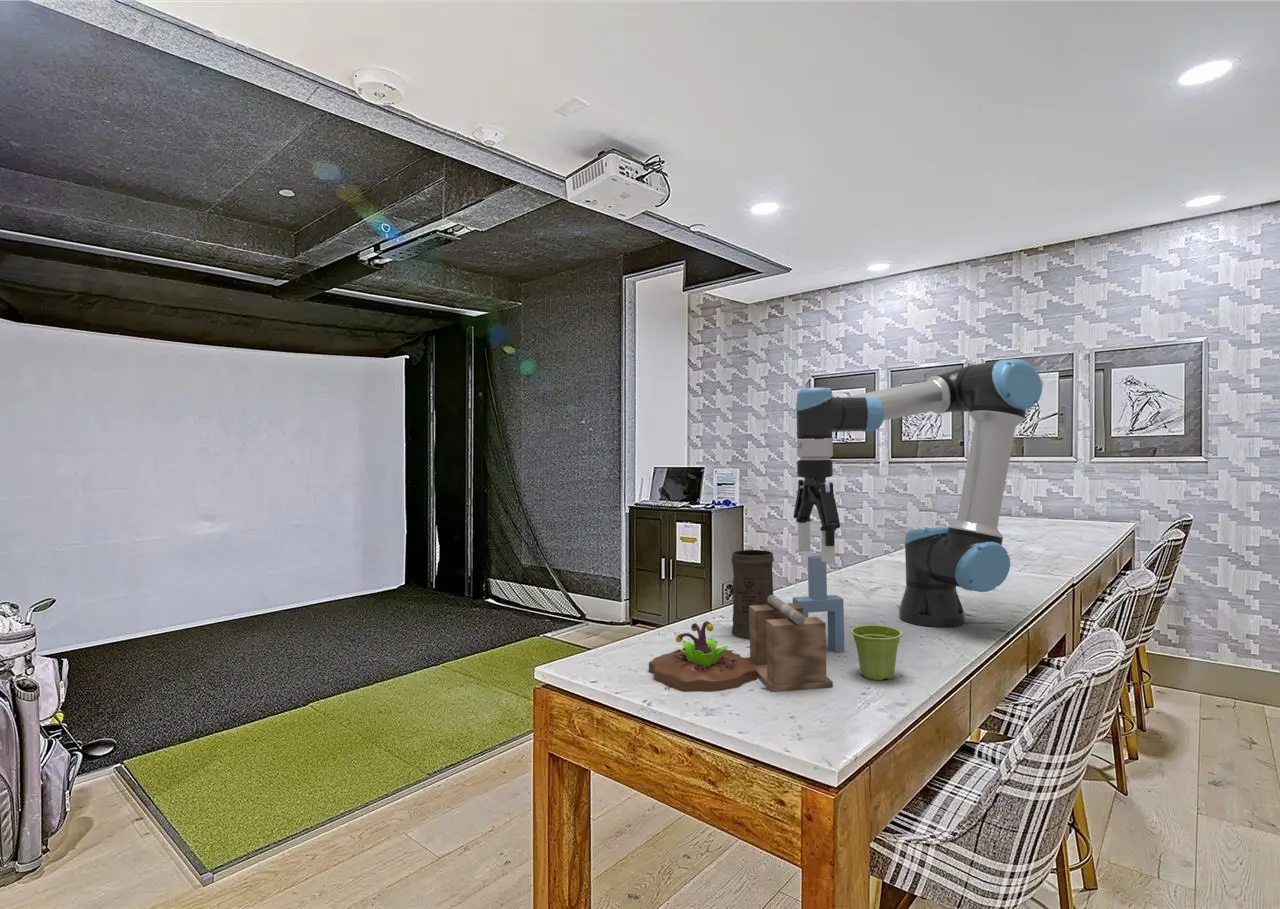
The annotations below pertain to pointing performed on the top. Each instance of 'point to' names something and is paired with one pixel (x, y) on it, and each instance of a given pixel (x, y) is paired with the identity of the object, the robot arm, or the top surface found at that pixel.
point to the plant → (702, 665)
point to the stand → (787, 647)
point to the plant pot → (876, 650)
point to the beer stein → (750, 586)
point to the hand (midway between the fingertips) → (815, 556)
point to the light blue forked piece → (823, 602)
